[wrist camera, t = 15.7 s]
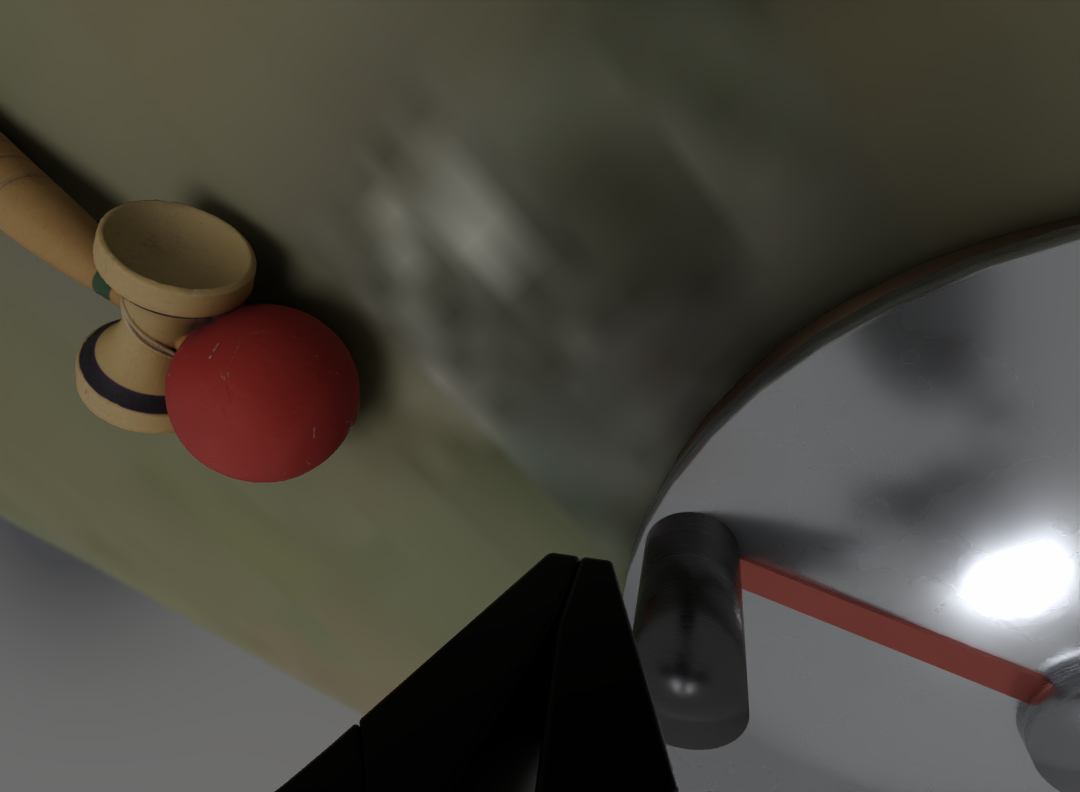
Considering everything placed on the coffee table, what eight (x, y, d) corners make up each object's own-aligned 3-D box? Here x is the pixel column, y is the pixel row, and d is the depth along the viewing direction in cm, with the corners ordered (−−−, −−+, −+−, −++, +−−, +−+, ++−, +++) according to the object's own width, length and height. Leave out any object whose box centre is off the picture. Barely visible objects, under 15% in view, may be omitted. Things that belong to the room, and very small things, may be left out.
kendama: (4, 229, 27) (329, 499, 25) (-200, 221, 21) (212, 574, 19) (65, 58, 24) (428, 348, 23) (-147, -7, 18) (329, 381, 17)
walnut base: (661, 196, 18) (656, 207, 17) (2148, 204, 12) (2391, 225, 10) (629, 796, 30) (624, 839, 29) (1362, 958, 24) (1412, 1026, 22)
